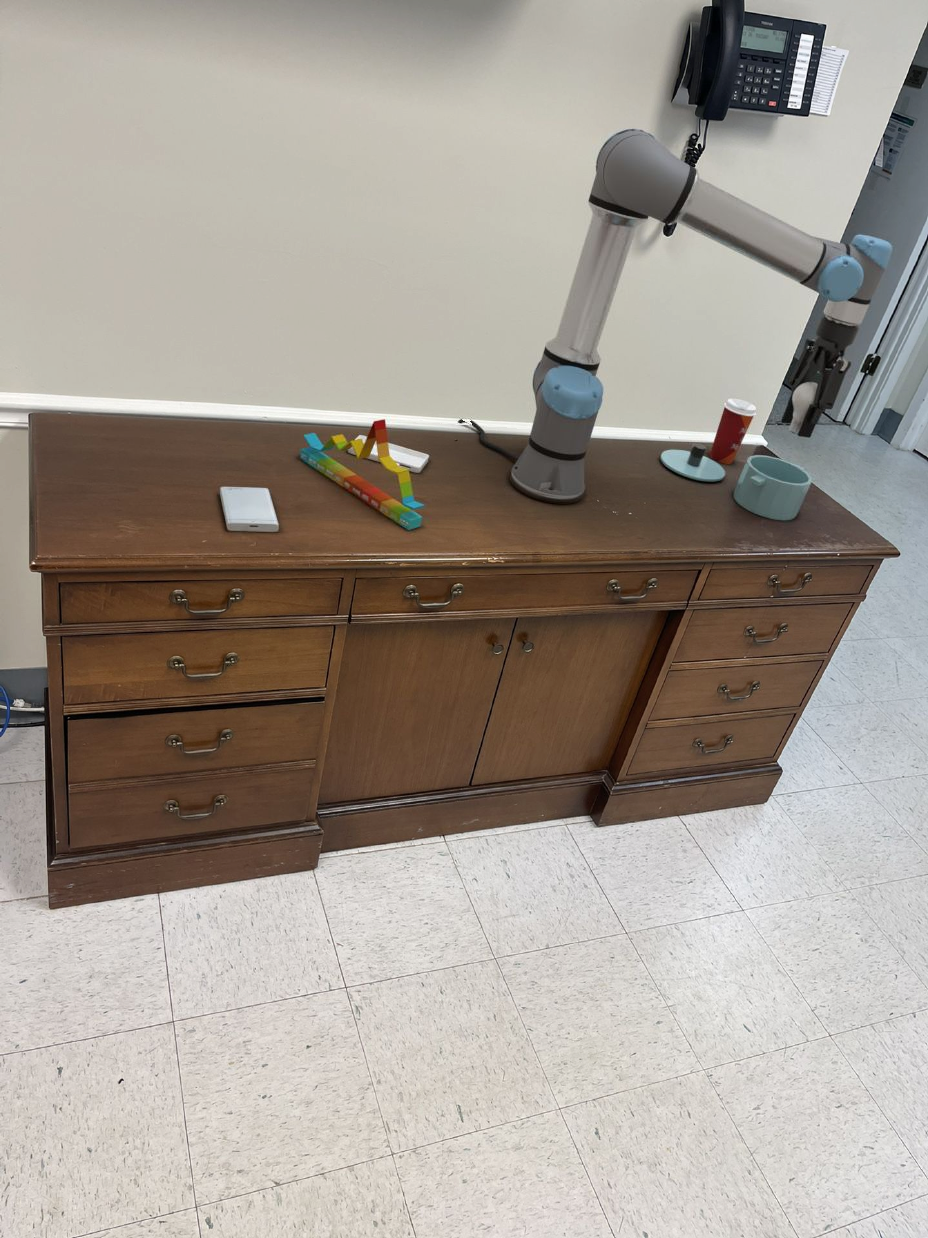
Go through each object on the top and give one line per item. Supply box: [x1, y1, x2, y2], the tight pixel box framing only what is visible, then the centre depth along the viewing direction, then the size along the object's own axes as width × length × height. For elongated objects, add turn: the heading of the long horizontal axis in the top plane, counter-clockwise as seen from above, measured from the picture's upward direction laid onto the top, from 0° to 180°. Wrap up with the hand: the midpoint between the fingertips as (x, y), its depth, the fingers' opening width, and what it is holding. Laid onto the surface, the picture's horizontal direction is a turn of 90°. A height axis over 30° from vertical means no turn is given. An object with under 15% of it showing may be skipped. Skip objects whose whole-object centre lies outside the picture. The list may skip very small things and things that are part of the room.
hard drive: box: [219, 486, 280, 533], centre depth 153 cm, size 2×8×12 cm
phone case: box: [347, 434, 430, 474], centre depth 183 cm, size 7×1×15 cm
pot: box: [732, 454, 813, 521], centre depth 200 cm, size 14×20×8 cm
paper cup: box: [709, 398, 757, 465], centre depth 217 cm, size 8×8×14 cm
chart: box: [299, 419, 426, 531], centre depth 164 cm, size 30×3×15 cm, turn 47°
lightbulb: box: [788, 381, 818, 435], centre depth 190 cm, size 6×6×11 cm
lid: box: [659, 442, 726, 483], centre depth 210 cm, size 15×15×6 cm
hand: (795, 429), depth 193 cm, fingers closed on lightbulb, 6 cm apart
